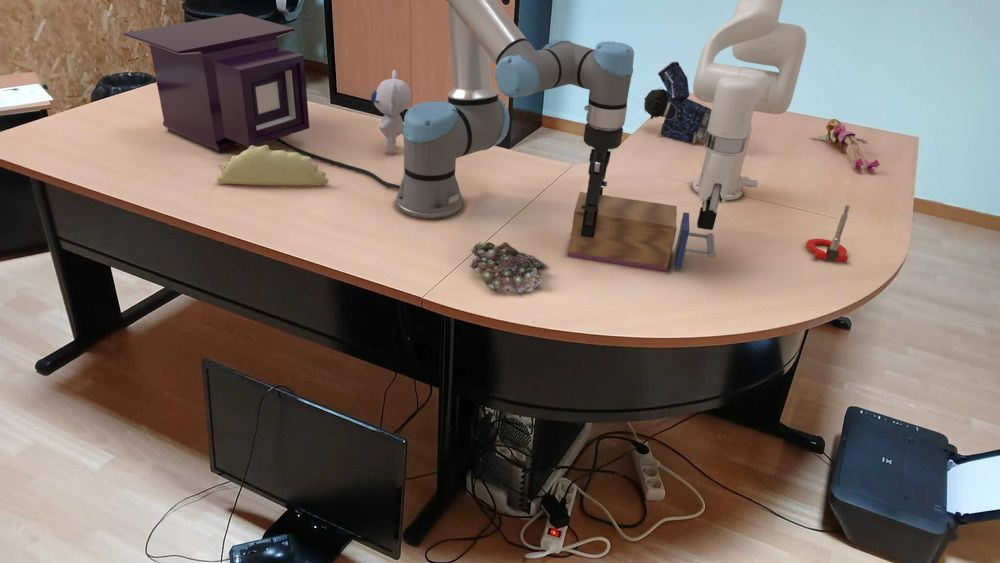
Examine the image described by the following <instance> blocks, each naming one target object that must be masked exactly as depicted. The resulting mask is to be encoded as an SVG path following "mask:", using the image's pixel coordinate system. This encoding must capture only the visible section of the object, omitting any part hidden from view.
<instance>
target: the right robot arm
mask: <svg viewBox="0 0 1000 563" xmlns="http://www.w3.org/2000/svg"><path fill="white" fill-rule="evenodd" d="M783 2H784V0H737V3H736V7H735V11H734V15H733V17H732V18H731V19H729V20H727V21H726V22H724V23H723V24H722V25H720V26H719V27H718V28H717V29H716V30H714V32H713V33H711V35H710V37H708V39H707V40H706V42H705V44H704V45H703V47H702V50H701V52H700V56H699V59H698V64H697V67H696V70H695V75H694V79H693V83H692V84H693V85H692V91H693V94H694V97H695V98H696V99H698V100H699V101H701V102H705V103H711V104H712V106H711V115H710V119H709V124H708V128H707V133H706V137H705V141H704V142H703V148H704V150H705V155H704V159H703V164H702V169H701V172H700V176H699V177H697V178H695V179H694V180H693V181H692V185H691V186H692V189H693V190H694V192H696V193H697V194H698V199H699V201H700V202H702V205H701V206H700V209H699V213H698V218H697V222H696V227H697V228H698V229H701V230H708V231H709V230H710V231H713V230H714V228H715V224H716V219H717V214H718V208H719V205H722V204H724V203H725V202H726V201H734V200H737V199H739V198H741V197H742V196H743V190H744V188H757V186H758V180H757V179H750V176H742V175H741V174H742V170H743V166H744V162H745V157H746V154H747V150H748V146H749V142H750V139H751V134H752V129H753V128H752V118H753V114H754V112H758V113H764V114H771V115H781V114H784V113H786V112H787V111H788V110H789V108H790V106H791V103H792V101H793V97H794V94H795V91H796V86H797V82H798V79H799V75H800V71H801V67H802V64H803V60H804V56H805V52H806V47H807V32H806V30H805V28H803V27H802V26H800V25H797V24H792V23H786V22H779V18H780V15H781V10H782V7H783ZM730 47H732V49H731V51H732V56H733V57H734V58H735V59H737V60H738V61H741V62H743V63H748V64H749V63H750V64H756V65H763V66H768V67H770V66H771V67H775V68H777V69H778V71H772V70H766V69H761V68H755V67H747V66H738V65H732V64H725V63H720V62H719V63H718V62H715V59H716V57H717V55H719V54H720V52H722V51H723V50H725V49H728V48H730Z"/></svg>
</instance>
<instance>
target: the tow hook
mask: <svg viewBox="0 0 1000 563" xmlns="http://www.w3.org/2000/svg"><path fill="white" fill-rule="evenodd" d="M850 207H851V206H850V205H849V204H846V205H845V207H844V210H843V213H842V214H841V215H840V219H839V221H838V225H837V228H836V231H835V234H834V236H833V238H832V240H829V239H825V238H811V239H808V241H807V242H806V244H805V246H806V248H807V250H808V251H810V252H811V253H813V254H814V258H815V259H821V260H826V261H833V262H836V261H838V262H844V263H847V261H848V258H849V257H848V255H847V252H848V251H847V248H846V247H844V246H843V245H842V244H840V243H841V237H842V234H843V231H844V228H845V226H846V222H847V220H848V217H849V215H848V213H849V210H850ZM816 245H824V246H827V248H826V251H824V250H822V249H821V248H820V249H819V248H818V247H817V246H816Z"/></svg>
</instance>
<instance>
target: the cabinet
mask: <svg viewBox="0 0 1000 563" xmlns="http://www.w3.org/2000/svg"><path fill="white" fill-rule="evenodd" d="M586 196H587V192H584V191H579V194H578V197H577V200H576V204H575V207H574V211H573V218H572V225H571V233H570V240H569V249H568V257H574V258H579V259H586V260H592V261H600V262H603V263H610V264H616V265H617V264H618V265H624V266H630V267H634V268H635V267H637V268H643V269H648V270H655V271H661V272H668V268H669V264H670V261H669V258H670V259H671V257H670V253H671V254H672V252H671V249H672V250H673V247H672V244H673V245H674V243H673V239H674V240H675V238H674V235H675V236H676V233H675V230H676V231H677V215H678V213H677V212H678V211H677V209H678V205H674V204H673V205H672V204H667V203H660V202H652V201H647V200H640V199H632V198H625V197H619V196H612V195H606V194H602V195H600V196H599V202H598V214H597V221H596V228H595V234H594V238H590V237H584V236H581V231H582V224H583V217H584V209H582V208H581V207H582V205H583V206H585V203H586Z"/></svg>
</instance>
